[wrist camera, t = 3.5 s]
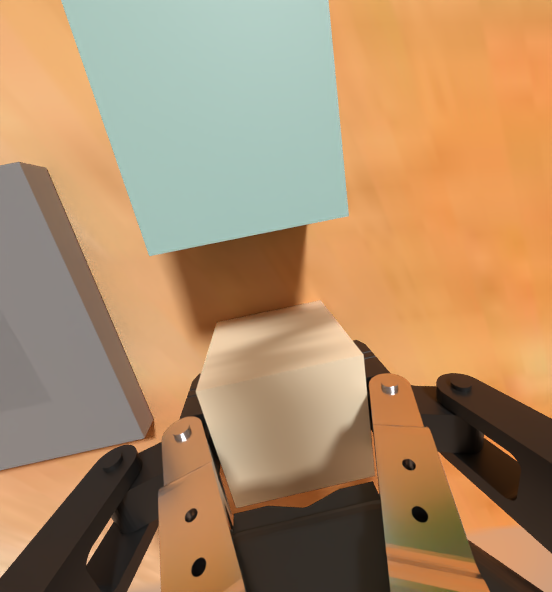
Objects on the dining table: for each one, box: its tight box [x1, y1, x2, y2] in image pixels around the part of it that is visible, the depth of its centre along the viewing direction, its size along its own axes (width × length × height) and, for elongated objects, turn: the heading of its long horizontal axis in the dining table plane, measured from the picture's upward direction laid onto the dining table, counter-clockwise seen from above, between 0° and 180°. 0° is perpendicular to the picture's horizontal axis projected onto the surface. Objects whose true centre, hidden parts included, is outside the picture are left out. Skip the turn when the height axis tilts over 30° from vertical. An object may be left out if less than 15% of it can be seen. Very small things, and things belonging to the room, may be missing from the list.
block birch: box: [196, 300, 375, 508], centre depth 11 cm, size 5×5×5 cm
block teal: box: [61, 0, 349, 256], centre depth 8 cm, size 5×5×5 cm
